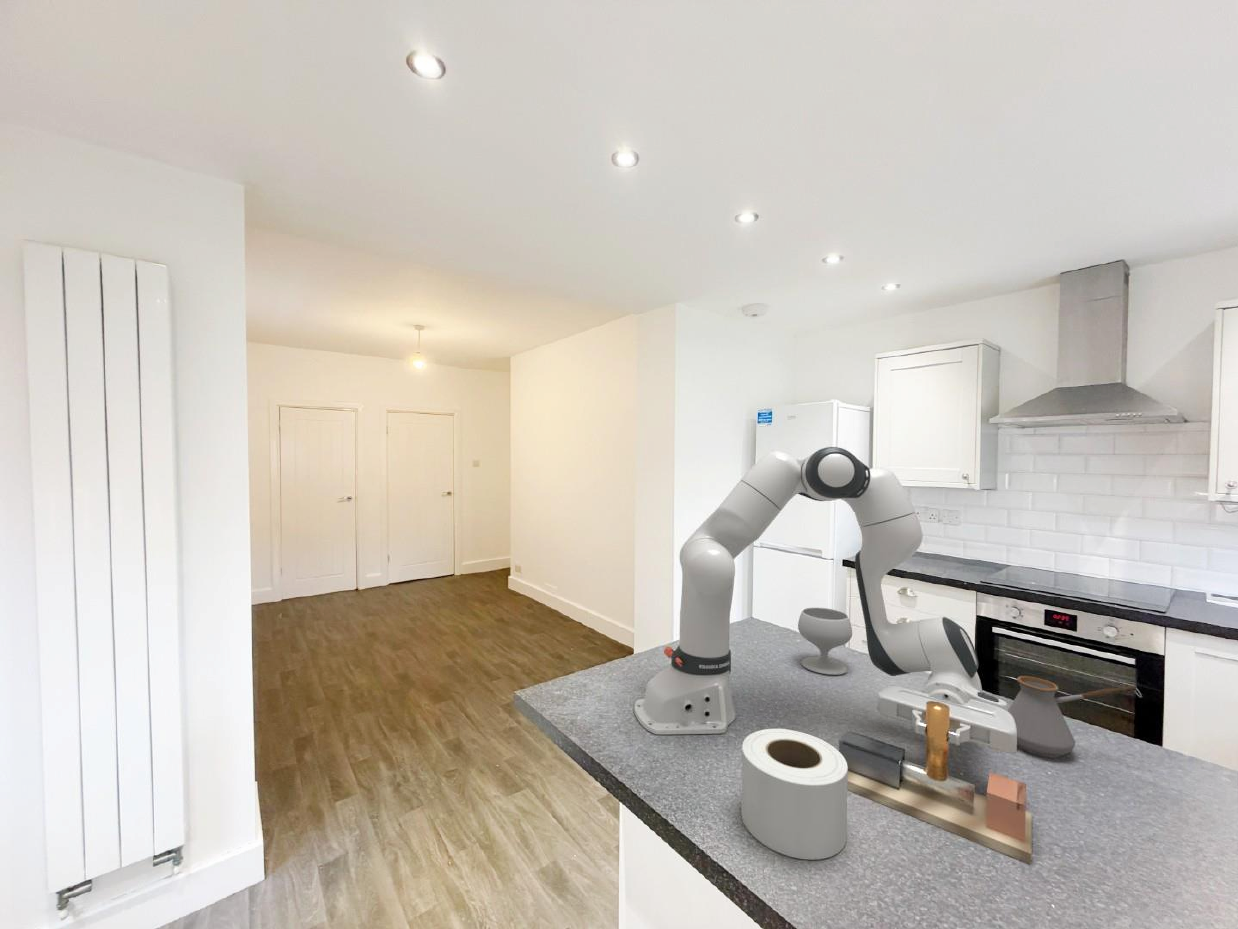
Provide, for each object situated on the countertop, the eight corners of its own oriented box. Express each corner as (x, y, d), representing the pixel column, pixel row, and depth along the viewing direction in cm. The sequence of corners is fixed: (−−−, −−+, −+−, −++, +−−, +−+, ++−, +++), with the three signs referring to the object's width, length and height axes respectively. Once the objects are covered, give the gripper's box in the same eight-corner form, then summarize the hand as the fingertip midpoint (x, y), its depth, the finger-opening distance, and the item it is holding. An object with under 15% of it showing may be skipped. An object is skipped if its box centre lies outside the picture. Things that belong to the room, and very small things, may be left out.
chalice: (788, 658, 144) (789, 606, 144) (834, 657, 146) (834, 606, 146) (812, 678, 130) (813, 621, 130) (862, 677, 132) (863, 620, 132)
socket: (986, 827, 74) (986, 792, 74) (989, 805, 79) (989, 772, 80) (1024, 842, 72) (1025, 805, 72) (1025, 818, 77) (1026, 783, 77)
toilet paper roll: (755, 779, 88) (756, 718, 88) (851, 811, 80) (852, 744, 80) (728, 834, 74) (729, 762, 74) (839, 879, 66) (841, 798, 66)
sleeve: (838, 767, 89) (839, 740, 89) (846, 755, 93) (846, 730, 93) (898, 790, 83) (899, 761, 83) (904, 777, 86) (905, 749, 86)
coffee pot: (1010, 754, 97) (1011, 677, 97) (993, 726, 107) (994, 657, 107) (1158, 784, 88) (1159, 699, 88) (1123, 750, 99) (1124, 675, 99)
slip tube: (864, 769, 87) (865, 689, 87) (869, 761, 89) (870, 683, 89) (972, 810, 77) (974, 719, 77) (974, 799, 79) (976, 712, 79)
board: (830, 782, 87) (830, 774, 87) (848, 755, 95) (848, 747, 95) (1031, 864, 69) (1031, 854, 69) (1031, 822, 78) (1031, 813, 78)
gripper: (885, 671, 98) (867, 695, 87) (1018, 704, 85) (1016, 737, 74) (885, 703, 98) (867, 731, 87) (1018, 741, 85) (1015, 779, 74)
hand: (936, 734), depth 81 cm, fingers closed on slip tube, 3 cm apart
